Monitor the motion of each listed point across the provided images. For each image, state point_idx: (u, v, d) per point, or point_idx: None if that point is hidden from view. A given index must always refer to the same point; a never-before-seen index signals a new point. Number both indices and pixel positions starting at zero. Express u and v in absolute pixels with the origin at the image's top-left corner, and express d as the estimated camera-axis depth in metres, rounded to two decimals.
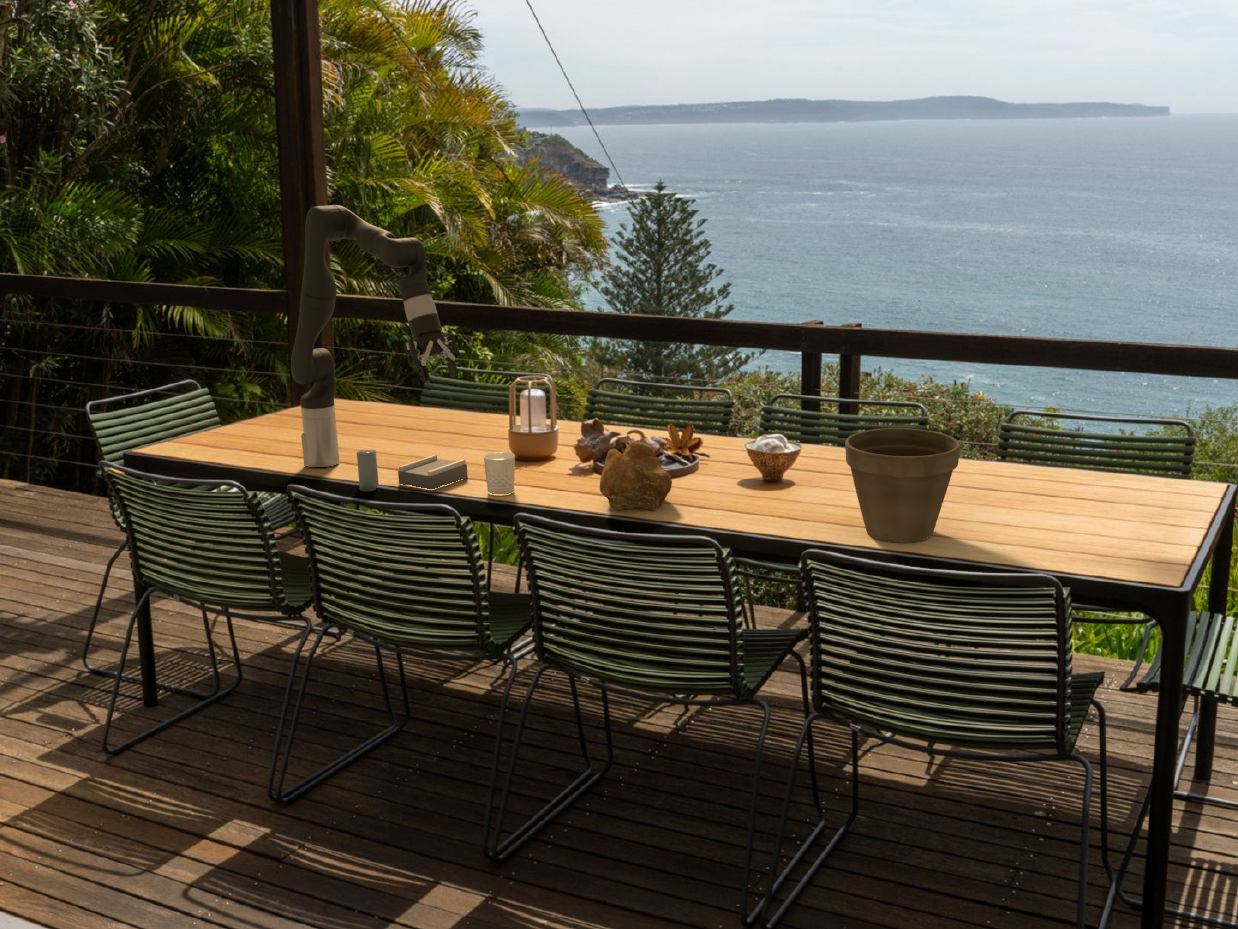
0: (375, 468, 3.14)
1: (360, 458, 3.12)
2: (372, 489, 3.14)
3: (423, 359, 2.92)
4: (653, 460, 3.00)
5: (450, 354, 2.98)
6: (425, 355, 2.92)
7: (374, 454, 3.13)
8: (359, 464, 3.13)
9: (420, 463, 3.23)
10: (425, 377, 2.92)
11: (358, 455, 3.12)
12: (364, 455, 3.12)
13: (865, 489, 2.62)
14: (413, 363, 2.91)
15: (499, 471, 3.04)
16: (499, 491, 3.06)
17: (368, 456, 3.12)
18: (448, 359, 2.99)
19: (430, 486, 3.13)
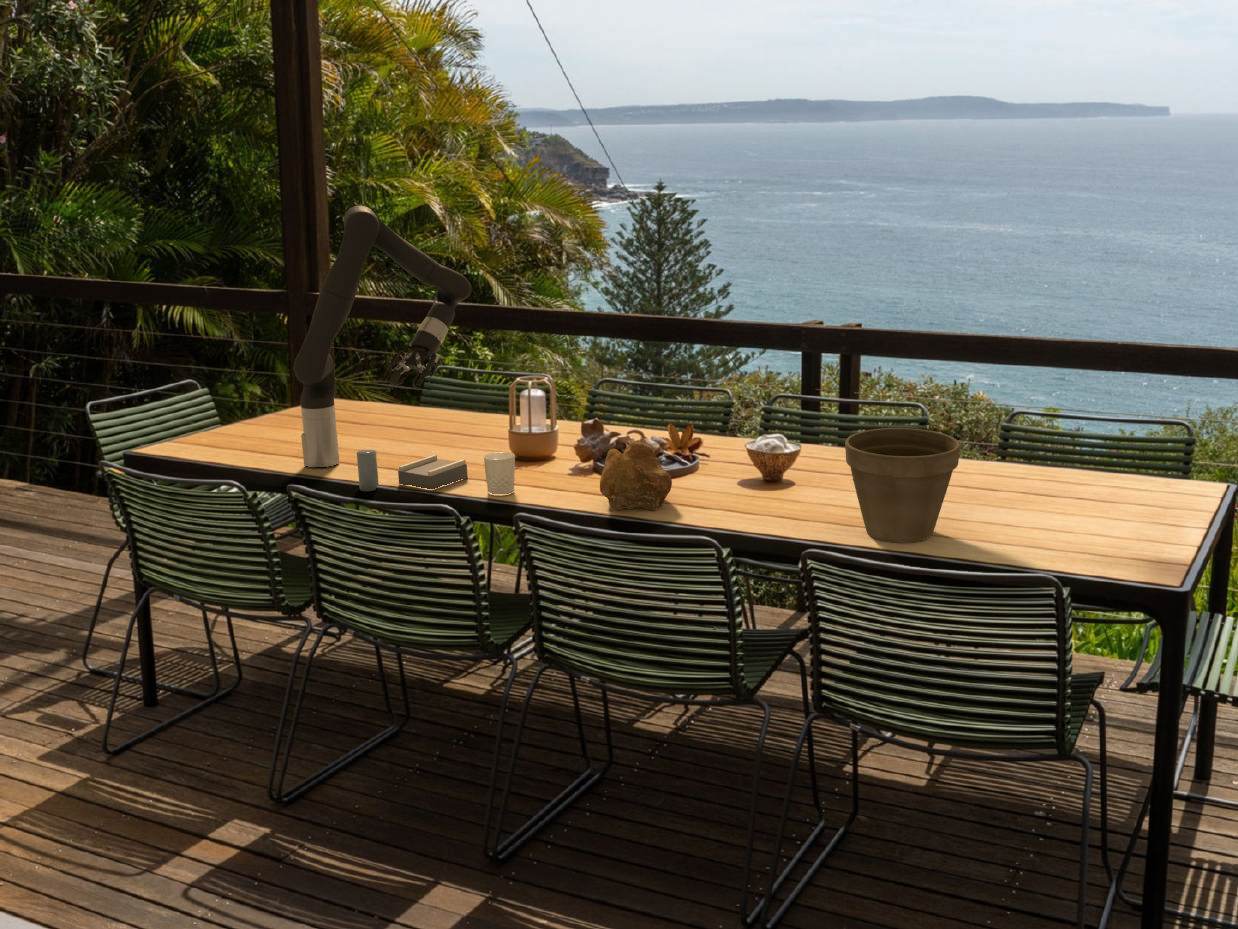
0: (375, 468, 3.14)
1: (360, 458, 3.12)
2: (372, 489, 3.14)
3: None
4: (653, 460, 3.00)
5: None
6: None
7: (374, 454, 3.13)
8: (359, 464, 3.13)
9: (420, 463, 3.23)
10: None
11: (358, 455, 3.12)
12: (364, 455, 3.12)
13: (865, 489, 2.62)
14: (431, 373, 3.23)
15: (499, 471, 3.04)
16: (499, 491, 3.06)
17: (368, 456, 3.12)
18: (399, 370, 3.29)
19: (430, 486, 3.13)
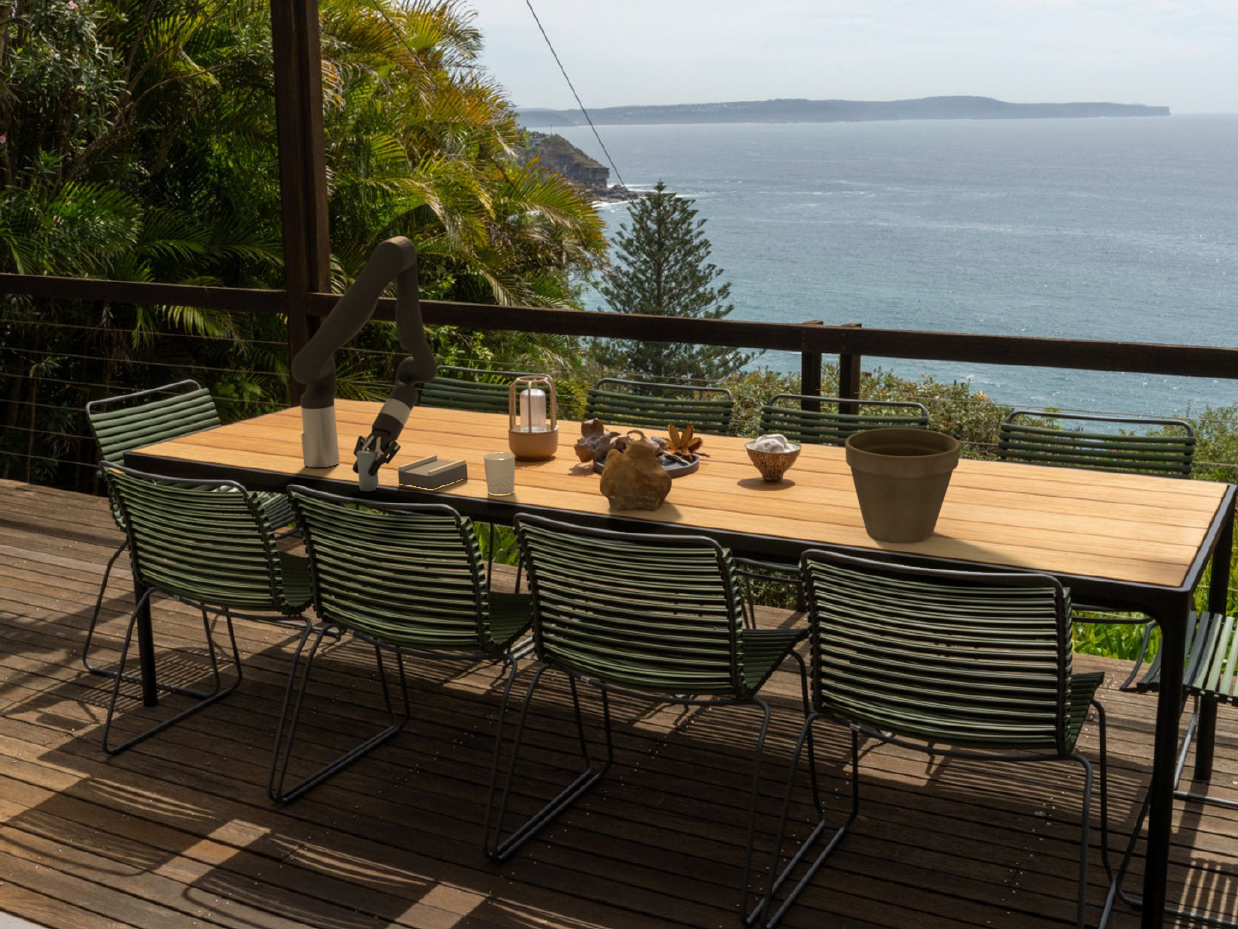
0: None
1: (360, 458, 3.12)
2: (372, 489, 3.14)
3: None
4: (653, 460, 3.00)
5: None
6: None
7: (374, 454, 3.13)
8: (359, 464, 3.13)
9: (420, 463, 3.23)
10: None
11: (358, 455, 3.12)
12: (364, 455, 3.12)
13: (865, 489, 2.62)
14: (387, 461, 3.13)
15: (499, 471, 3.04)
16: (499, 491, 3.06)
17: (368, 456, 3.12)
18: None
19: (430, 486, 3.13)
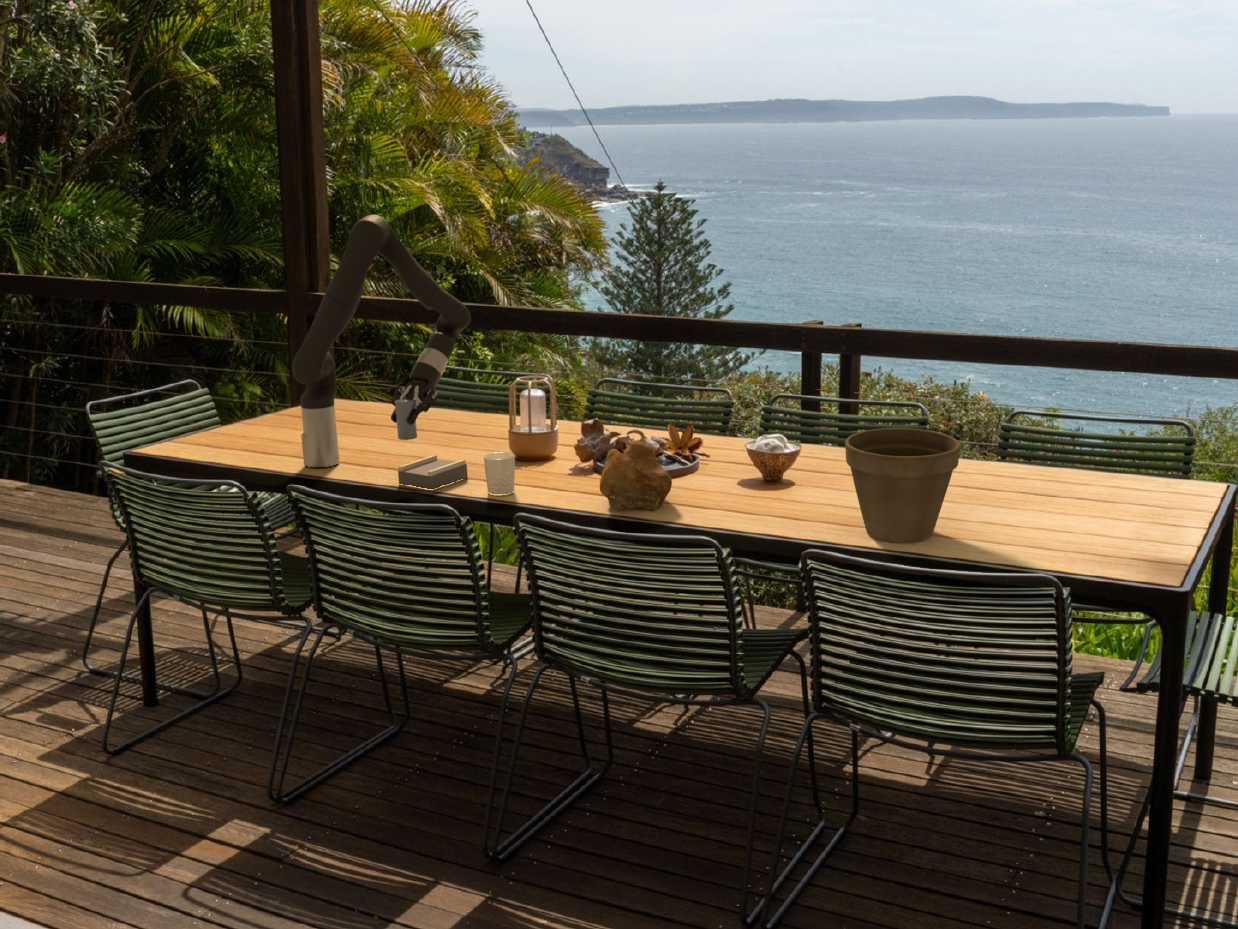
0: None
1: (398, 407, 3.12)
2: (411, 438, 3.14)
3: None
4: (653, 460, 3.00)
5: None
6: None
7: (412, 402, 3.13)
8: (397, 413, 3.12)
9: (420, 463, 3.23)
10: None
11: (396, 403, 3.12)
12: (402, 403, 3.11)
13: (865, 489, 2.62)
14: (426, 409, 3.13)
15: (499, 471, 3.04)
16: (499, 491, 3.06)
17: (406, 404, 3.11)
18: None
19: (430, 486, 3.13)
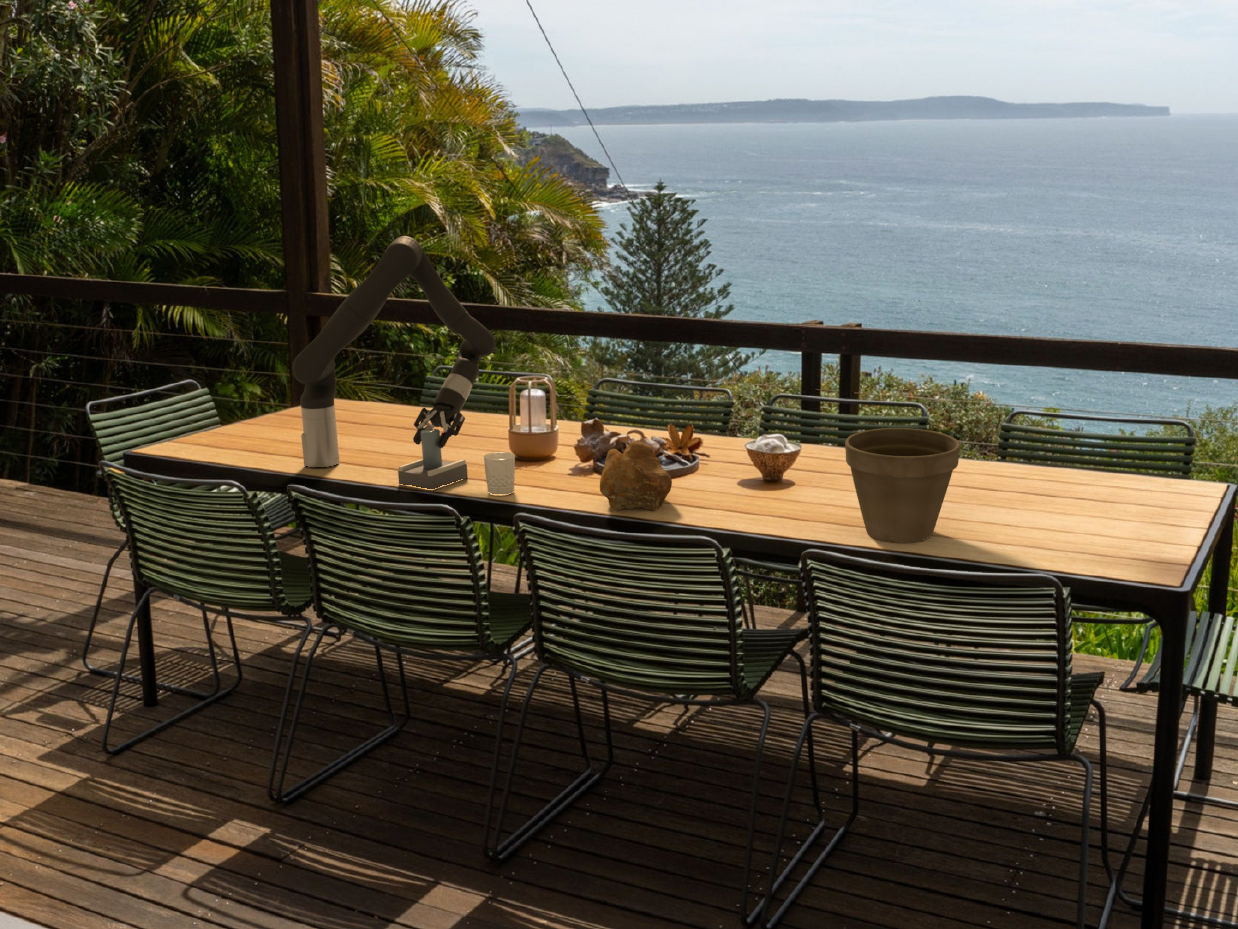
0: None
1: (424, 437, 3.16)
2: None
3: None
4: (653, 460, 3.00)
5: None
6: None
7: (438, 433, 3.17)
8: (423, 443, 3.17)
9: (420, 463, 3.23)
10: None
11: (422, 434, 3.16)
12: (428, 434, 3.15)
13: (865, 489, 2.62)
14: (456, 433, 3.16)
15: (499, 471, 3.04)
16: (499, 491, 3.06)
17: (432, 435, 3.16)
18: (423, 428, 3.21)
19: (430, 486, 3.13)
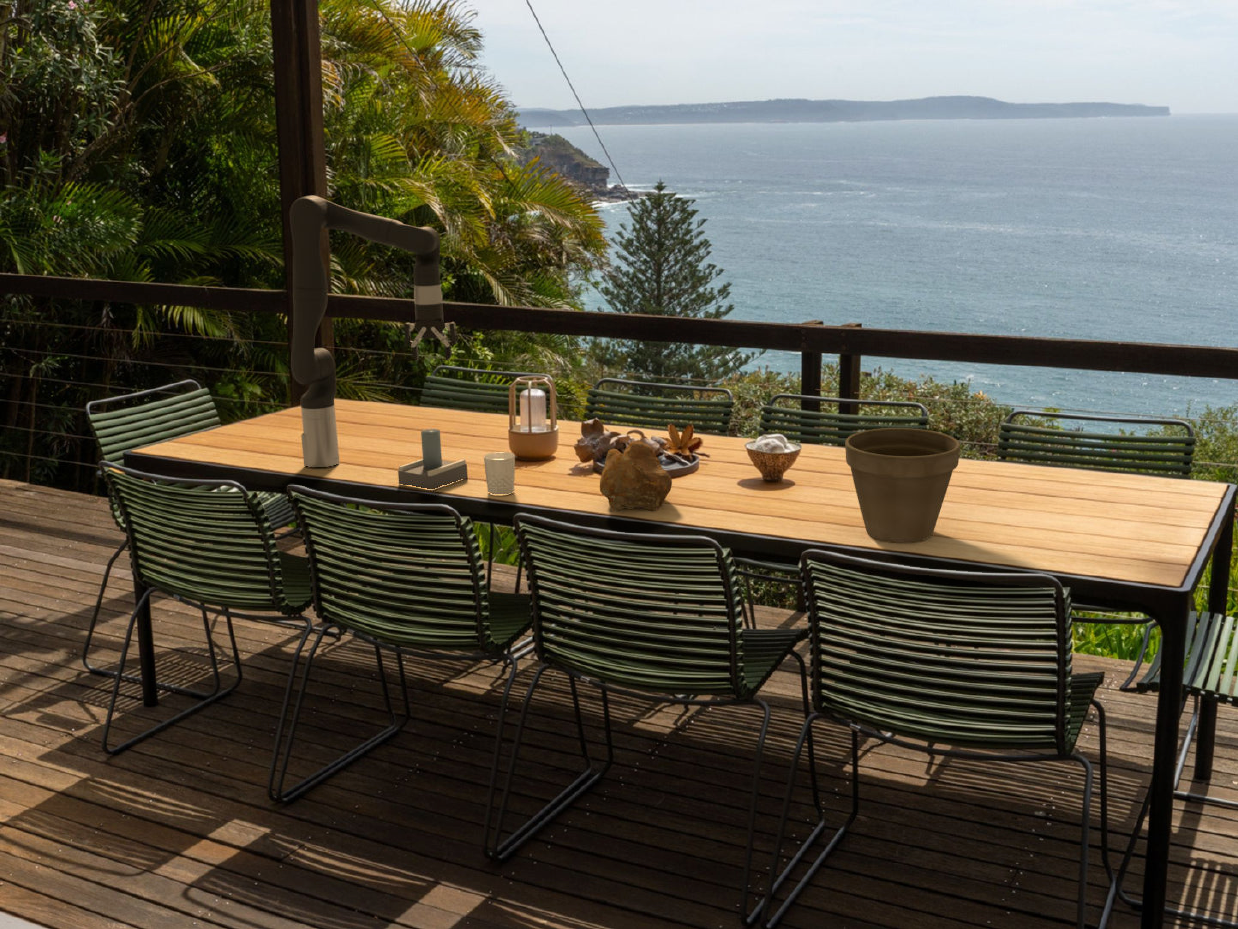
0: (439, 447, 3.18)
1: (424, 437, 3.16)
2: None
3: None
4: (653, 460, 3.00)
5: None
6: None
7: (438, 433, 3.17)
8: (423, 443, 3.17)
9: (420, 463, 3.23)
10: None
11: (422, 434, 3.16)
12: (429, 434, 3.15)
13: (865, 489, 2.62)
14: (456, 341, 3.29)
15: (499, 471, 3.04)
16: (499, 491, 3.06)
17: (432, 435, 3.16)
18: None
19: (430, 486, 3.13)
